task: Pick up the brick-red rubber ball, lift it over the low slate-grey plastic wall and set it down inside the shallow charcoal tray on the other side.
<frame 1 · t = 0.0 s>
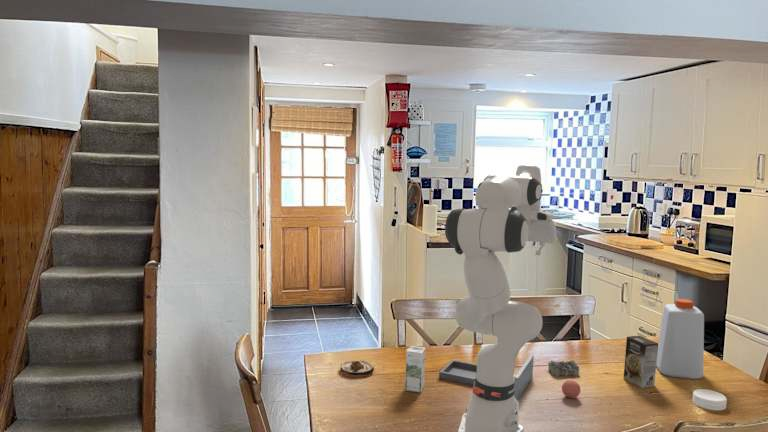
hand: (524, 253, 196), 48 cm above the table, tool pointing down, fingers open, 8 cm apart
egg carton: (563, 373, 217), on the table
slate plastic wall: (523, 387, 202), on the table
rubber ball: (571, 389, 195), point 3 cm above the table
syrup box: (414, 389, 199), on the table
charcoal tray: (463, 375, 212), on the table
white round lid: (708, 405, 193), on the table
dark rimmed plate: (357, 372, 214), on the table
plastic bottle: (678, 372, 221), on the table
coffee box: (638, 382, 209), on the table
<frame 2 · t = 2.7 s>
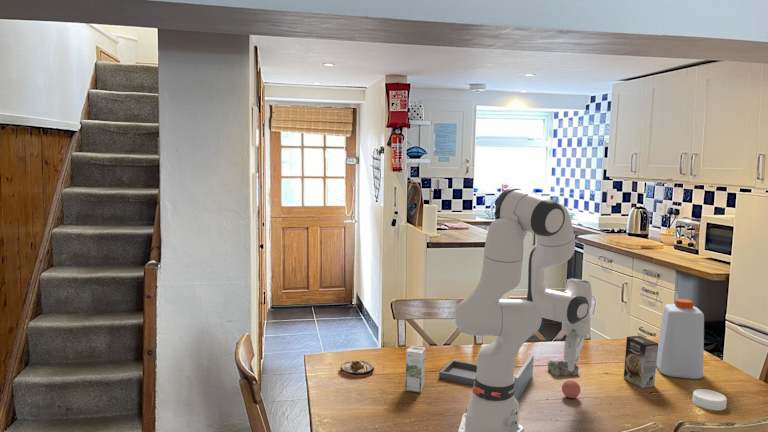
hand: (573, 365, 194), 11 cm above the table, tool pointing down, fingers open, 8 cm apart
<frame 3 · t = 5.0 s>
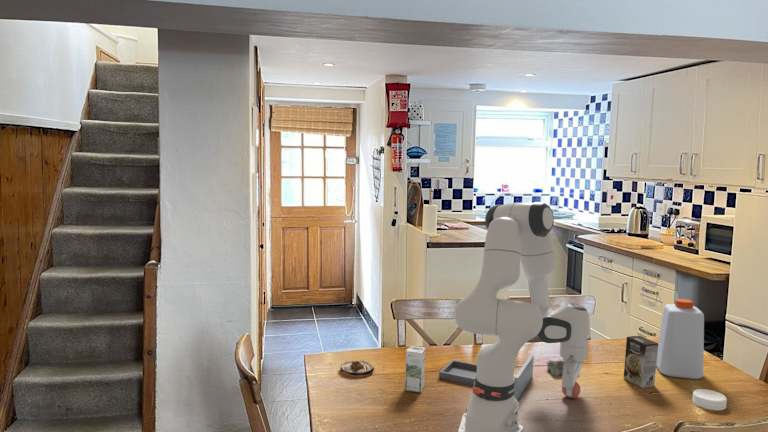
hand: (570, 390, 195), 2 cm above the table, tool pointing down, fingers closed on rubber ball, 6 cm apart
rubber ball: (571, 389, 195), point 3 cm above the table, touching gripper
everything else where it was.
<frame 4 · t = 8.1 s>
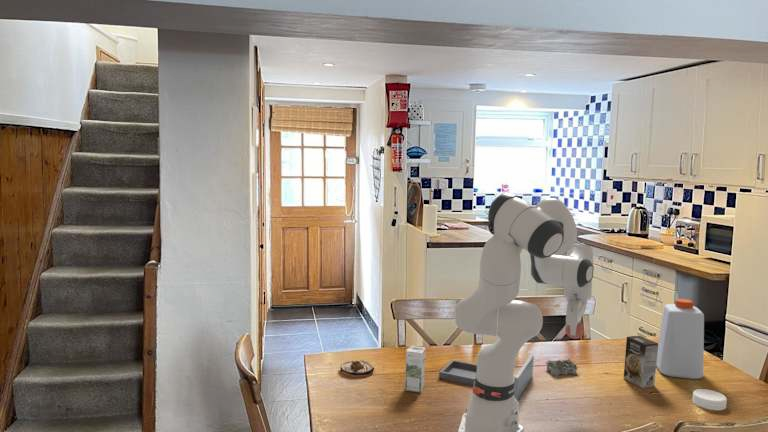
hand: (574, 331, 192), 23 cm above the table, tool pointing down, fingers closed on rubber ball, 6 cm apart
rubber ball: (574, 329, 192), point 24 cm above the table, touching gripper
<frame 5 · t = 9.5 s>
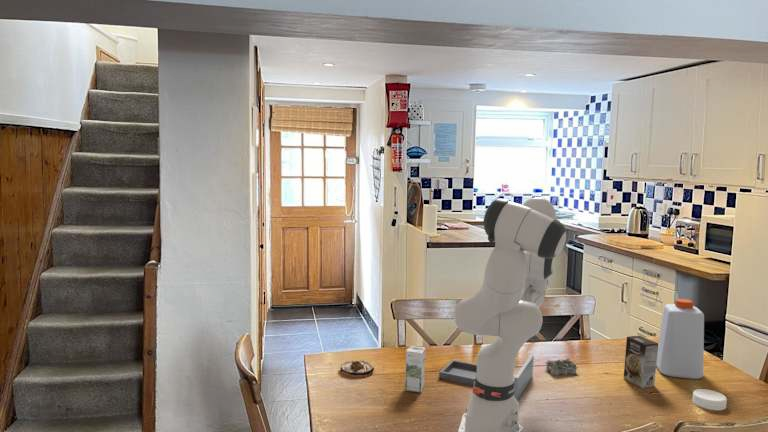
hand: (531, 322, 199), 24 cm above the table, tool pointing down, fingers closed on rubber ball, 6 cm apart
rubber ball: (531, 320, 198), point 25 cm above the table, touching gripper
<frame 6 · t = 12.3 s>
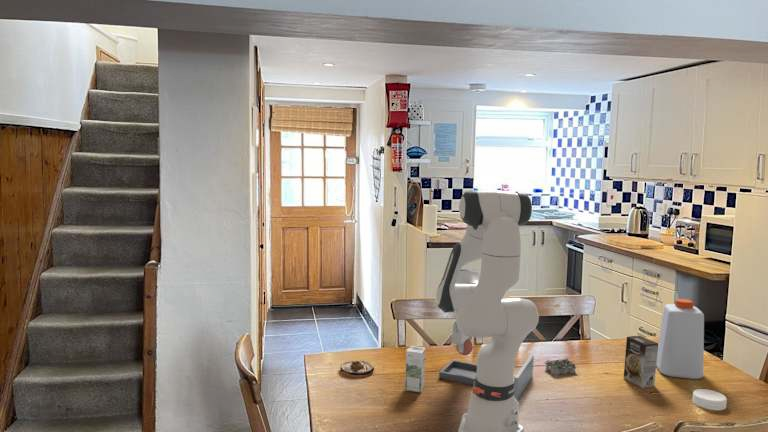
hand: (464, 348, 211), 10 cm above the table, tool pointing down, fingers closed on rubber ball, 6 cm apart
rubber ball: (464, 346, 211), point 11 cm above the table, touching gripper
when the fingers open (5 cm above the table, at t = 14.4 s): rubber ball drops 2 cm, resting on charcoal tray.
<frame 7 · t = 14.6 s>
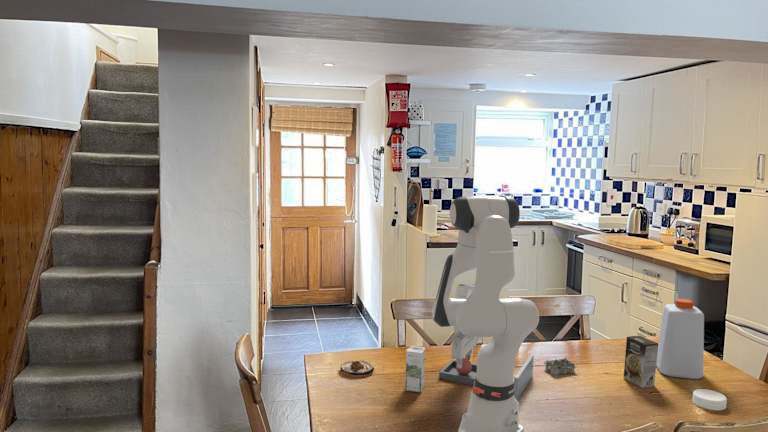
hand: (464, 363, 211), 5 cm above the table, tool pointing down, fingers open, 8 cm apart
rubber ball: (463, 366, 211), point 3 cm above the table, touching charcoal tray
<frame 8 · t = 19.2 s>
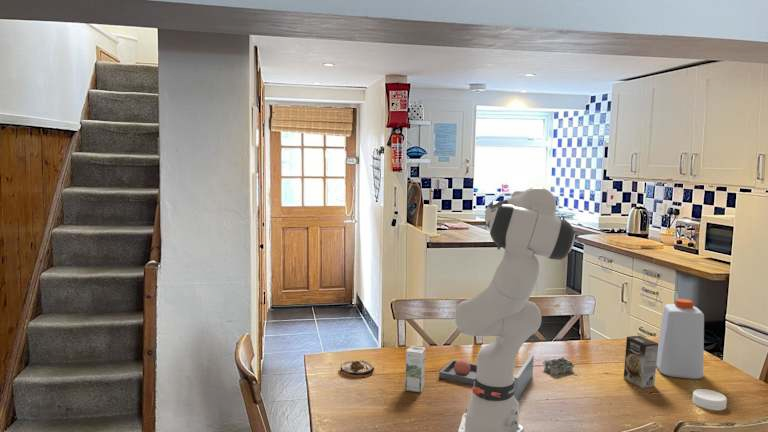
hand: (519, 276, 201), 39 cm above the table, tool pointing down, fingers open, 8 cm apart
rubber ball: (462, 368, 210), point 3 cm above the table, tilted 34°, touching charcoal tray
at the end: rubber ball inside the target area on the charcoal tray (1.9 cm from its centre), point 3.4 cm above the charcoal tray's base; rubber ball touching charcoal tray; the gripper is holding nothing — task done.
